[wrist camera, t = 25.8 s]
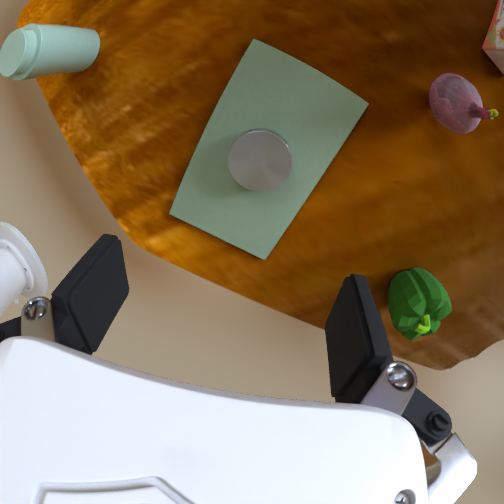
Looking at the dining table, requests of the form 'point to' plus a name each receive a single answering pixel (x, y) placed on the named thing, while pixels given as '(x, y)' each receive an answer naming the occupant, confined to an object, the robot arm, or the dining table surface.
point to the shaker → (48, 51)
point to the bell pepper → (417, 303)
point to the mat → (278, 120)
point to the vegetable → (457, 104)
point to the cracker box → (496, 37)
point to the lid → (260, 160)
